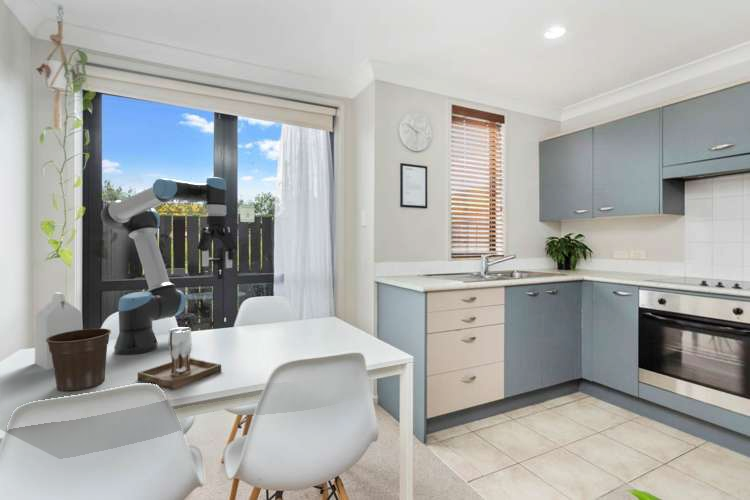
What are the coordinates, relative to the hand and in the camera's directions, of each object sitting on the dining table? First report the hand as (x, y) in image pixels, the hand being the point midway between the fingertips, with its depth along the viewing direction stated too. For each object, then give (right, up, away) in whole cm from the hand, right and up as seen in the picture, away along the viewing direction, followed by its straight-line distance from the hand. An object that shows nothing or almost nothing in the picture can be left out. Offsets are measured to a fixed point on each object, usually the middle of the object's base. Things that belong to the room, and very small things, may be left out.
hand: (217, 267), depth 154 cm
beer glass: (-1, -35, -27) cm, 44 cm away
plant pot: (-29, -36, -35) cm, 58 cm away
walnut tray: (-1, -36, -27) cm, 45 cm away
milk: (-52, -35, -15) cm, 65 cm away
